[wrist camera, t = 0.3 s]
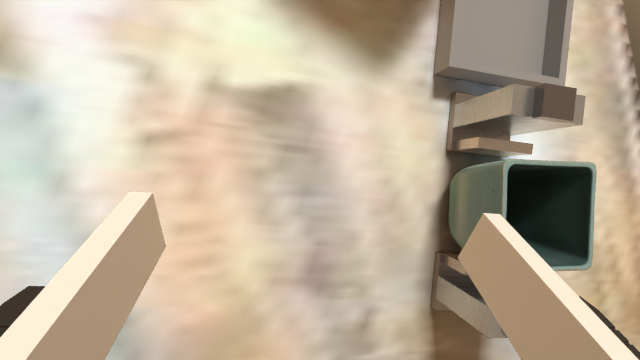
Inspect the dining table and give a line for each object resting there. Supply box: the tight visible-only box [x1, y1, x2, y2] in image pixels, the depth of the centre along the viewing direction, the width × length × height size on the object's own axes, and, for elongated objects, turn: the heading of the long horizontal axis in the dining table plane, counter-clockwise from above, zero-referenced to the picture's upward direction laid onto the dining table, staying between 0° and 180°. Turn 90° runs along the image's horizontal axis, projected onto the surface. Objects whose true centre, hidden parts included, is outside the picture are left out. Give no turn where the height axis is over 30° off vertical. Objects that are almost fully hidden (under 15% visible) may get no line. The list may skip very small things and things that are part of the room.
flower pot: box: [448, 159, 596, 271], centre depth 26 cm, size 9×9×9 cm
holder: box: [430, 83, 585, 338], centre depth 26 cm, size 23×7×9 cm, turn 175°
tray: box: [434, 0, 574, 87], centre depth 29 cm, size 14×14×2 cm
